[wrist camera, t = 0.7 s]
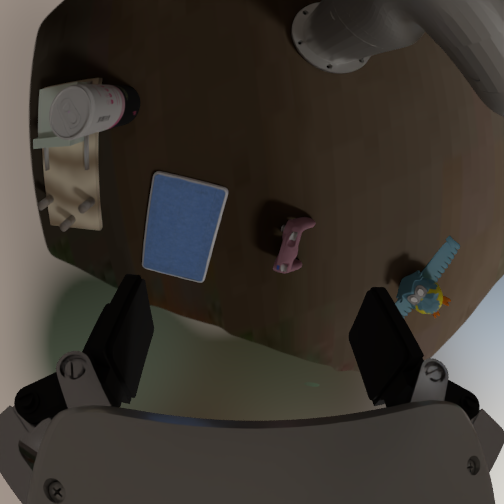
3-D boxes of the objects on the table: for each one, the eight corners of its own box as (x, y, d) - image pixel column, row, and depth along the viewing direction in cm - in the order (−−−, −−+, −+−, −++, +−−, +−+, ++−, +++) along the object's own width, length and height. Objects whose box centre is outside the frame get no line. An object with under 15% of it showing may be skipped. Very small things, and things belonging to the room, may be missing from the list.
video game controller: (292, 209, 46) (279, 221, 40) (318, 218, 44) (308, 232, 39) (279, 257, 51) (265, 275, 45) (302, 266, 49) (290, 285, 44)
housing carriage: (50, 88, 29) (34, 90, 25) (88, 81, 30) (72, 81, 26) (49, 142, 34) (33, 148, 30) (84, 140, 35) (69, 146, 31)
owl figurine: (408, 355, 55) (370, 344, 51) (397, 331, 62) (359, 317, 59) (485, 270, 42) (458, 241, 39) (465, 250, 50) (435, 221, 46)
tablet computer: (204, 280, 52) (203, 285, 51) (142, 265, 50) (140, 268, 48) (230, 186, 42) (229, 189, 41) (155, 168, 40) (152, 170, 39)
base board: (47, 87, 29) (31, 88, 25) (102, 77, 31) (87, 76, 27) (53, 222, 43) (41, 233, 39) (102, 227, 44) (91, 239, 40)
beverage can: (117, 133, 36) (64, 152, 23) (98, 103, 33) (40, 112, 20) (148, 108, 34) (101, 115, 22) (128, 77, 31) (76, 72, 18)
